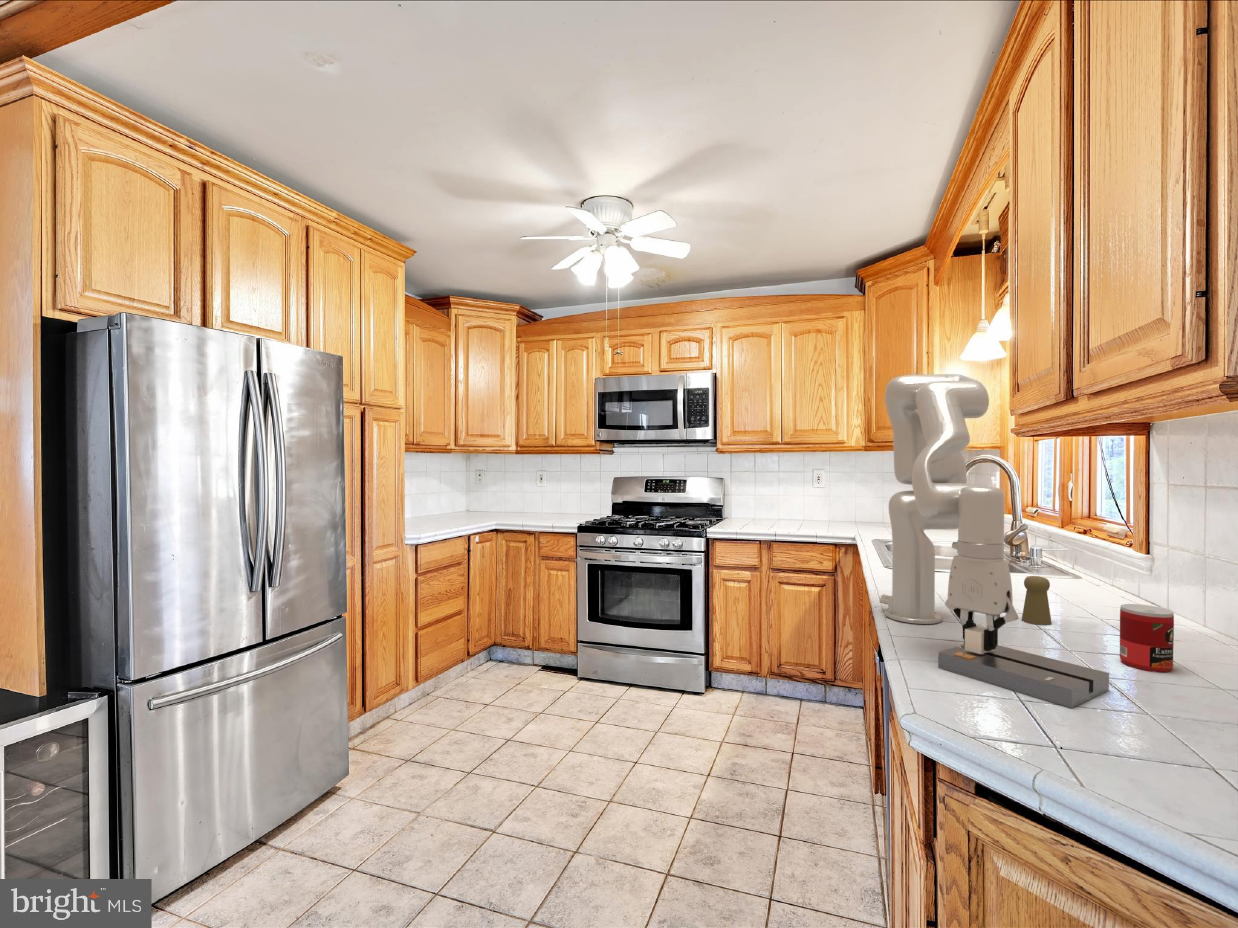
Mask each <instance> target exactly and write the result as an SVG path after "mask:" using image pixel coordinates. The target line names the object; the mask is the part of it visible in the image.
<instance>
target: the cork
mask: <svg viewBox="0 0 1238 928" xmlns="http://www.w3.org/2000/svg"><path fill="white" fill-rule="evenodd" d="M1023 586H1024V588H1025V589H1026V591H1025V598H1024V602H1023V603H1024V605H1023V609H1022V616H1021V621H1022V622H1023V621H1024V623H1026V624H1031V625H1037V626H1051V625H1052V617H1051V611H1050V610H1051V609H1050V603H1049V596H1048V591H1049V590H1050V587H1051V583H1050V580H1049V579H1047V578H1046V577H1043V576H1039V575H1030V576H1026V577H1025V578H1024V581H1023Z"/></svg>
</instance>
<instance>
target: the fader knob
mask: <svg viewBox="0 0 1238 928" xmlns="http://www.w3.org/2000/svg"><path fill="white" fill-rule="evenodd" d="M985 629H987V626H984V625H976V626H975V627H972V628H967V629H965V650H966V651H970V652H974V653H978V654H984V653H987V652H990V651H985V650H984V630H985ZM994 650H995V649H994ZM991 651H993V650H991Z"/></svg>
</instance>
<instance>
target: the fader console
mask: <svg viewBox="0 0 1238 928" xmlns="http://www.w3.org/2000/svg"><path fill="white" fill-rule="evenodd" d="M937 657H938V659H937V665H938V666H937V668H938V669H941V668H942V669H941V670H944V671H948V672H951V673H955V674H958V675H960V676H961V675H962V676H964V677H967V678H971V679H974V680H977V681H981V682H984V683H987V684H991V685H994V686H996V687H1001V688H1004V689H1007V690H1010V691H1014V692H1017V693H1019V694H1023V695H1025V696H1026V695H1027V696H1031V697H1033V698H1037V699H1039V700H1042V701H1043V700H1044V701H1047V702H1050V703H1053V704H1056V705H1060V706H1062V707H1065V708H1069V709H1073V708H1075V707H1077V706H1079V705H1082V704H1084V703H1086V702H1088V701H1090V700H1092V699H1094V698H1095V697H1096V698H1097V697H1098V696H1100V695H1102V694H1105V693H1107V692H1108V691H1110V672H1106V671H1102V670H1100V669H1099V670H1098V669H1094V668H1091V667H1087V666H1082V665H1078V664H1074V663H1070V662H1067V661H1063V660H1059V659H1055V658H1051V657H1047V656H1043V655H1038V654H1034V653H1030V652H1027V651H1022V650H1020V649H1019V650H1018V649H1016V648H1015V649H1014V648H1011V647H1008V646H1007V647H1006V646H1002V645H999V644H998V645H997V647H996V649H995V650H993V651H990V652H987V653H984V654H978V653H974V652H970V651H966V650H965V645H964V643H963V644H961V645H960V647H959V646H953V647H951V648H948V649H944V650H940V651H938V655H937Z"/></svg>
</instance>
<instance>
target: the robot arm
mask: <svg viewBox="0 0 1238 928" xmlns="http://www.w3.org/2000/svg"><path fill="white" fill-rule="evenodd" d="M884 403H885V404H884V405H885V408H886V412H887V417H888V419H889V421H890V424H891V425H890V426H891V429H892V435H893V436H892V441H893V442H892V443H893V445H892V446H893V467H894V469H893V470H894V476H895V479H896V481H897V482H898V483H900V484H903V485H910V486H911V487H912V490H902V491H898V492H896V493H894V494H893V495H892V496H891V497H890V499H889V501H888V514H889V515H888V516H889V520H890V526H891V537H892V538H891V540H892V545H891V546H892V551H891V553H892V560H891V561H892V564H891V565H892V566H891V568H892V569H891V570H892V571H891V574H892V575H891V576H892V577H891V578H892V580H891V583H892V585H891V586H892V587H891V588H892V590H891V592H892V593H891V596H890V595H886V594H882V595H881V596H880V598H879V603H880V604H883V605H887V606H888V607H887V608H886V609H885V611H884V612H885V616H886V617H887V618H889V619H891V620H894V621H898V622H902V623H907V624H908V623H909V624H916V625H933V624H938V623H941V622H942V615H941V614H940V613H938V612H937V611H935V610H936V608H935V605H936V603H935V602H936V600H935V598H936V595H935V594H936V593H935V592H936V590H935V588H936V587H935V586H936V585H935V584H936V582H935V581H936V577H935V576H936V575H935V574H936V550H935V545H934V544H933V541H932V540H931V539H930V538H929V537H928V536H927V534H926V533H925V531H926V530H945V531H946V530H957V531H958V533H957V541H953V542H952V543H951V548H952V549H954V550H956V551H957V552H956V553H957V555H954V556H953V557H952V561H951V565H950V569H949V577H948V587H947V599H946V600H945V603H944V606H945V607H947V608H948V609H949V610H951V611H952V612H953V613H954V614H955V616H956V617H957V618H958V619H959V622H960V624H962V639H963V644H964V645H965V629H967V628H972V627H975V626H977V623H976V622H975V621H974V620H975V619H974V618H975V613H978V614H981V615H985V621H986V627H987V629H985V630H984V650H985V651H991V650H994V649H996V647H997V645H999V644H998V642H999V641H998V637H999V629H1001V627H1003V626H1004V625H1006V624H1008V623H1010V622H1015V621H1018V620H1019V619H1020V618H1019V615H1018V613H1017V611H1016V609H1015V606H1014V605H1013V586H1012V585H1013V584H1012V577H1011V572H1010V566H1009V563H1008V560H1005V493H1004V491H1003V490H1002V489H1001V488H999V487H996V486H988V485H986V484H981V483H968V482H967V481H968V479H967V465H966V459H965V457H964V455H963V453H962V451H964V450H965V449H966V448H967V447H968V445H969V444H970V441H971V437H970V433H969V429H968V426H967V422H966V420H965V419H978V418H981V417H983V416H984V415H985V414H986V413H987V412H988V409H989V405H990V397H989V393H988V391H987V389H986V386H984V384H983V383H982V382H980V381H979V380H977V379H975V378H971V377H969V376H966V375H963V374H955V373H954V374H953V373H951V374H950V373H949V374H947V373H946V374H941V373H939V374H937V373H936V374H935V373H934V374H928V373H927V374H925V373H924V374H905V375H899V376H897V377H894V378H892V379H891V380H889V382H888V383H887V385H886V387H885V393H884ZM1003 613H1005V615H1004V616H1001V615H1002V614H1003Z"/></svg>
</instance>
